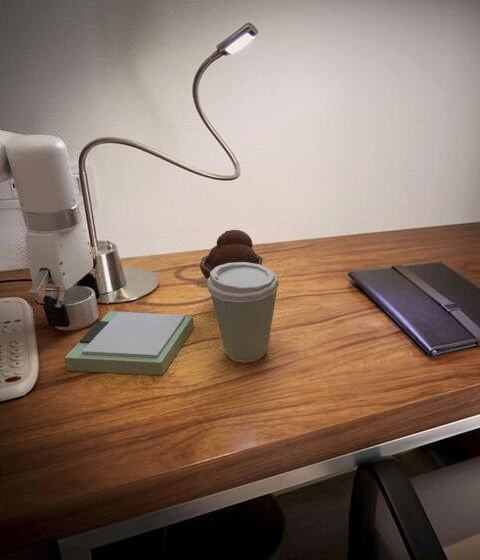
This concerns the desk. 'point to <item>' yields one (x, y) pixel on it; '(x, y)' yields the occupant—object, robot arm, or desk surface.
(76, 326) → the bowl
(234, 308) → the disposable coffee cup
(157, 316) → the scale
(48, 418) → the desk surface
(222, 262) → the ice cream bowl
